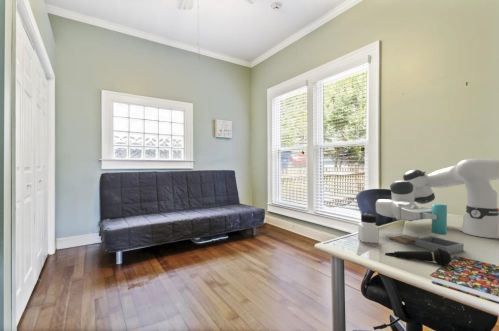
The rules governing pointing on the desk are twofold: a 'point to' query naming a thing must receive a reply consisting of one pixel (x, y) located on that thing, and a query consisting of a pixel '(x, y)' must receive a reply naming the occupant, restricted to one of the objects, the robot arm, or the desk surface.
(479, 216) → the robot arm
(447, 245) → the caddy
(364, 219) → the medicine bottle
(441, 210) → the canister
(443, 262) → the microphone
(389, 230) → the desk surface
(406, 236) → the mat
